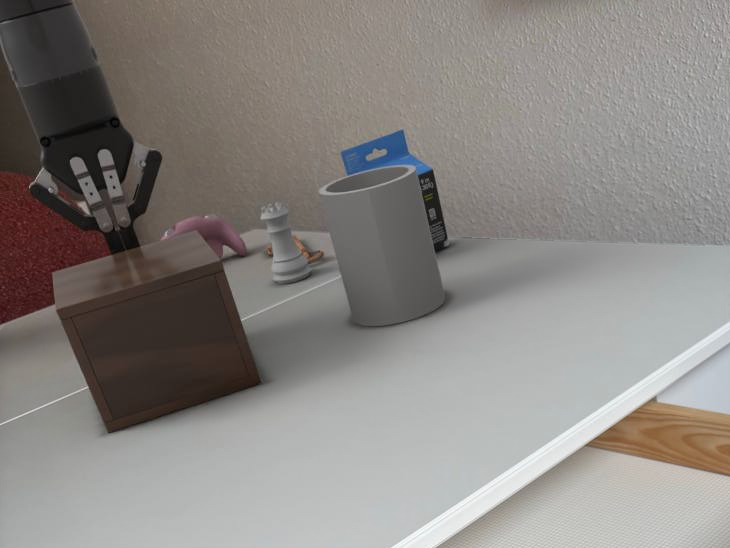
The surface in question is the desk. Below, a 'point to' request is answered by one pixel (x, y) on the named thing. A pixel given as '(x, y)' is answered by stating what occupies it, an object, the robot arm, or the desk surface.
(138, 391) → the cabinet
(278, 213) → the white chess rook
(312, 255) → the key
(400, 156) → the tape cartridge
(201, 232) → the video game controller
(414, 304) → the cup
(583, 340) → the desk surface
